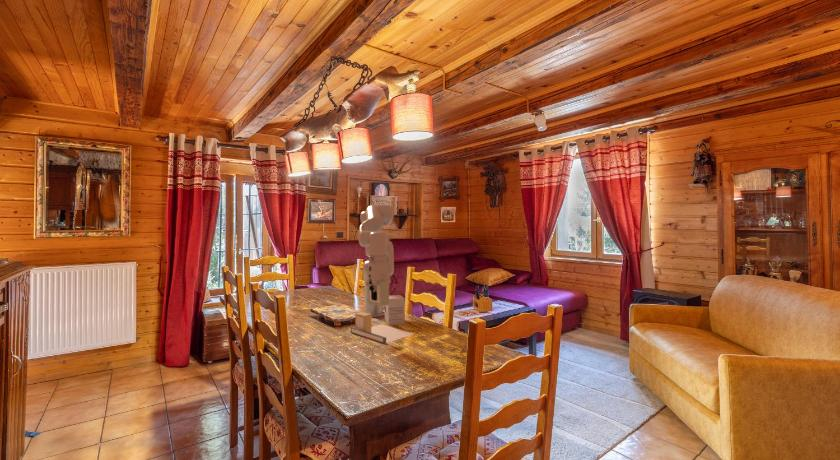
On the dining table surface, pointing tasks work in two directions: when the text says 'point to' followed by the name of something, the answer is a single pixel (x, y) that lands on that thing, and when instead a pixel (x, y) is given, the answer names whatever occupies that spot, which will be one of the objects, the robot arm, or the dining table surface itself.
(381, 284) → the tea box
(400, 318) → the supplement box
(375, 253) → the robot arm
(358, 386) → the dining table surface
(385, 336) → the shelf
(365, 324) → the faced box
